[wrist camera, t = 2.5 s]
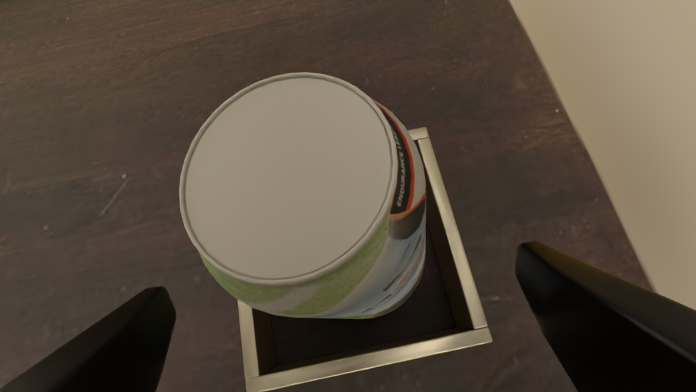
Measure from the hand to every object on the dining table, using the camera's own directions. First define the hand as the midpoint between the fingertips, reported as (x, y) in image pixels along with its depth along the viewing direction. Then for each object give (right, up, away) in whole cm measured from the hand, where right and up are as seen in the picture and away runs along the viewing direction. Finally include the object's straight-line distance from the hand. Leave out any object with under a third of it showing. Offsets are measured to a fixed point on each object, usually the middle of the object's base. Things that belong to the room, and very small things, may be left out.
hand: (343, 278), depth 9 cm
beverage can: (0, -1, +10) cm, 10 cm away
